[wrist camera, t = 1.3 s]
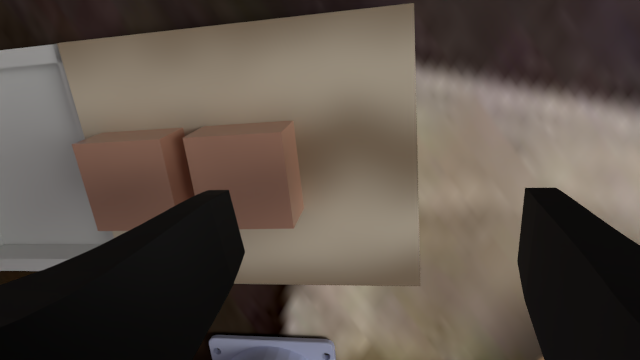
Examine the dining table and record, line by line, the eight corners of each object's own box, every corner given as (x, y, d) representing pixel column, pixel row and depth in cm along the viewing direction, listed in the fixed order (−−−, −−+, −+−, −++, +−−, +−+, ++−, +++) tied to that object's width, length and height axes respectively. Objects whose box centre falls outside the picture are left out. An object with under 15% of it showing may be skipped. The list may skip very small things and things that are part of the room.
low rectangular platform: (417, 248, 23) (420, 286, 19) (161, 249, 25) (127, 282, 22) (411, 6, 19) (413, 3, 15) (108, 39, 21) (57, 43, 18)
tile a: (303, 208, 19) (294, 228, 17) (220, 210, 20) (202, 229, 18) (293, 120, 18) (281, 132, 16) (203, 126, 18) (182, 137, 17)
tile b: (200, 210, 20) (180, 230, 18) (124, 212, 21) (98, 231, 19) (182, 127, 19) (159, 139, 17) (102, 132, 19) (71, 144, 18)
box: (156, 249, 26) (132, 271, 23) (9, 249, 28) (-27, 270, 25) (103, 40, 21) (67, 42, 19) (-65, 59, 24) (-116, 63, 21)
